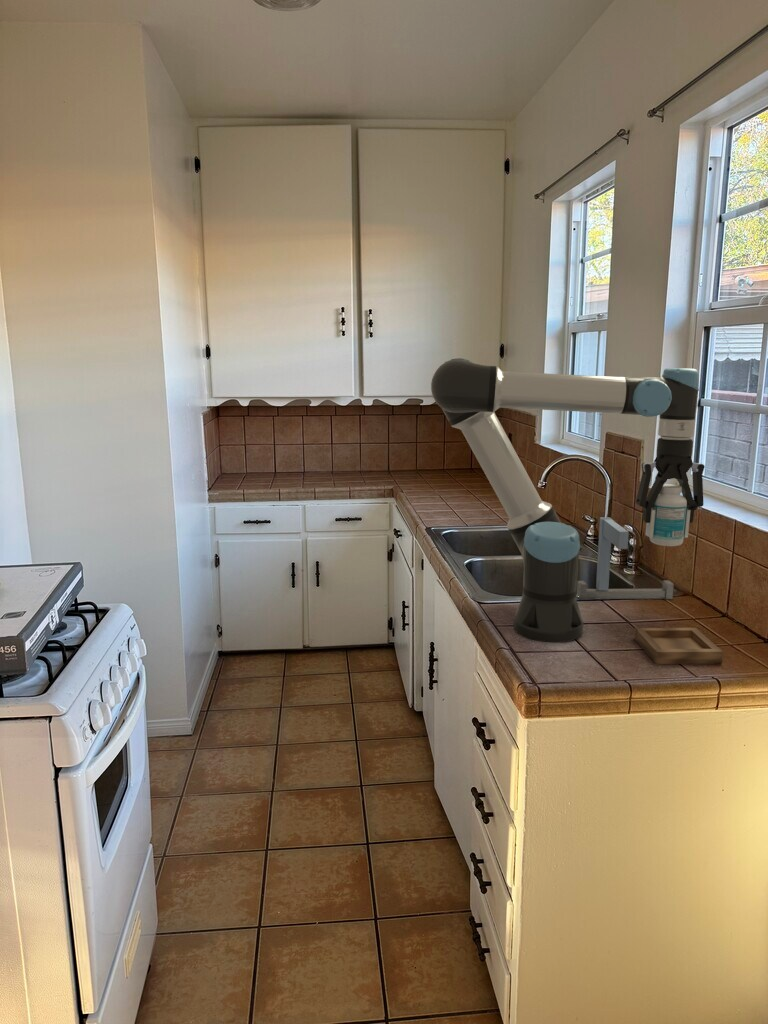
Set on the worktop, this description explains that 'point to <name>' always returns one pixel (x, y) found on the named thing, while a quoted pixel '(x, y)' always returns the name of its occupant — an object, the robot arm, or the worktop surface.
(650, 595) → the gate rail
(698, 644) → the open box
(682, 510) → the pill bottle
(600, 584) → the bar
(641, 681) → the worktop surface
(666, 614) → the worktop surface
